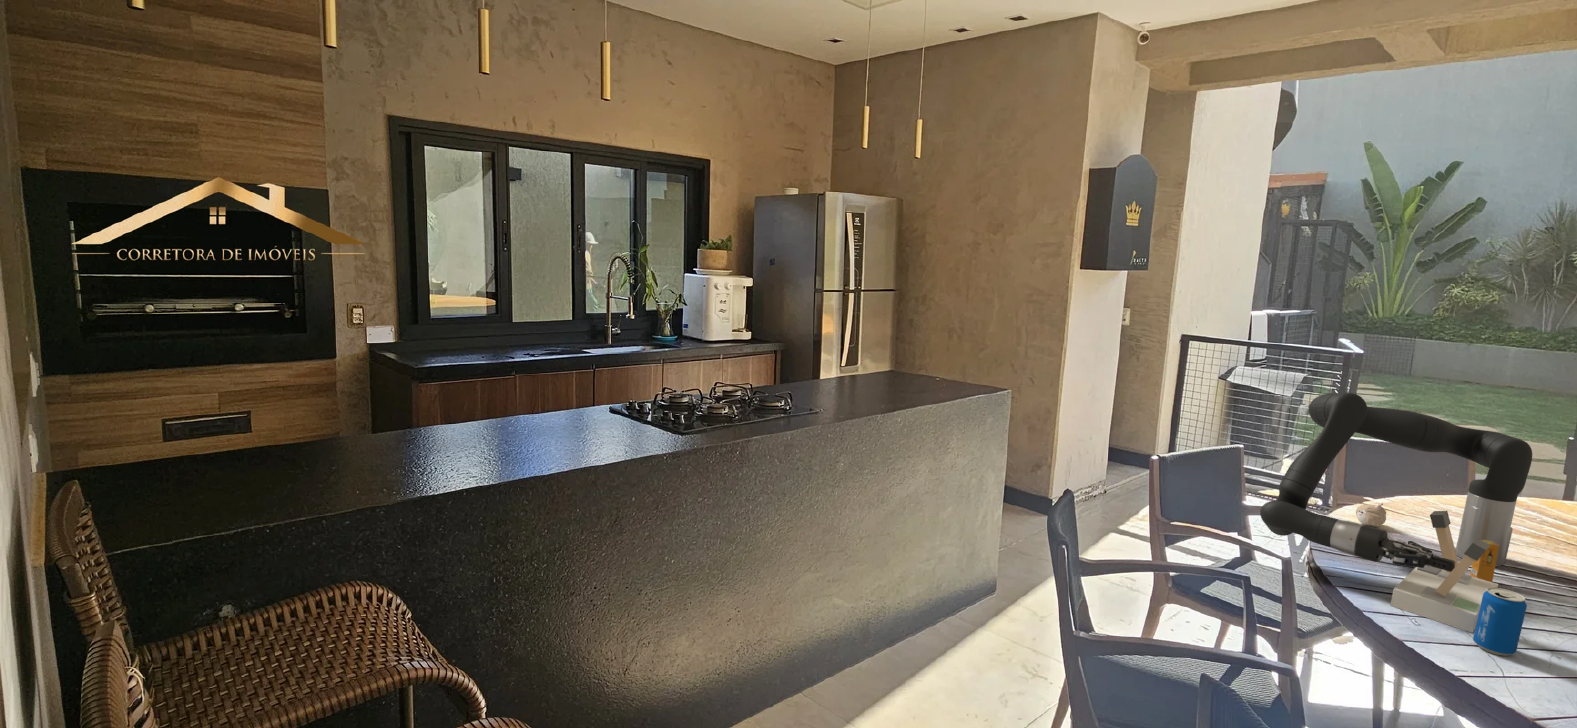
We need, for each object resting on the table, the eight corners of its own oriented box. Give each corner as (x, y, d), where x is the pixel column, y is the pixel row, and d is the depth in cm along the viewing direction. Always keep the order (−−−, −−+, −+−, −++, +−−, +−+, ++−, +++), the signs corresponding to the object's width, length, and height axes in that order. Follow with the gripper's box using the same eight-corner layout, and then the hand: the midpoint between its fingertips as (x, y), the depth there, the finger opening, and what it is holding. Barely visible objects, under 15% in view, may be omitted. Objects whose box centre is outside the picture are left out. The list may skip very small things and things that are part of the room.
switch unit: (1390, 605, 171) (1394, 586, 171) (1418, 577, 186) (1421, 559, 186) (1472, 632, 161) (1476, 612, 160) (1494, 600, 176) (1498, 581, 175)
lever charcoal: (1444, 572, 177) (1429, 514, 179) (1448, 567, 180) (1434, 510, 181) (1457, 573, 176) (1442, 514, 177) (1462, 568, 178) (1447, 510, 180)
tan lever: (1433, 590, 167) (1472, 542, 161) (1438, 584, 169) (1477, 537, 163) (1446, 597, 165) (1486, 550, 159) (1450, 592, 168) (1490, 545, 162)
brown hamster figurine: (1358, 526, 218) (1363, 500, 216) (1351, 519, 223) (1356, 493, 222) (1386, 531, 215) (1391, 504, 214) (1379, 523, 221) (1384, 496, 219)
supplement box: (1484, 578, 187) (1493, 540, 185) (1492, 584, 184) (1500, 545, 182) (1467, 576, 188) (1476, 538, 186) (1475, 582, 185) (1483, 543, 183)
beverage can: (1463, 640, 158) (1475, 586, 155) (1492, 639, 158) (1504, 586, 156) (1494, 658, 151) (1507, 601, 149) (1524, 657, 152) (1537, 601, 150)
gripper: (1351, 531, 174) (1450, 557, 160) (1369, 518, 182) (1464, 543, 169) (1346, 562, 175) (1443, 591, 162) (1364, 548, 183) (1458, 574, 170)
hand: (1454, 566), depth 165 cm, fingers closed
